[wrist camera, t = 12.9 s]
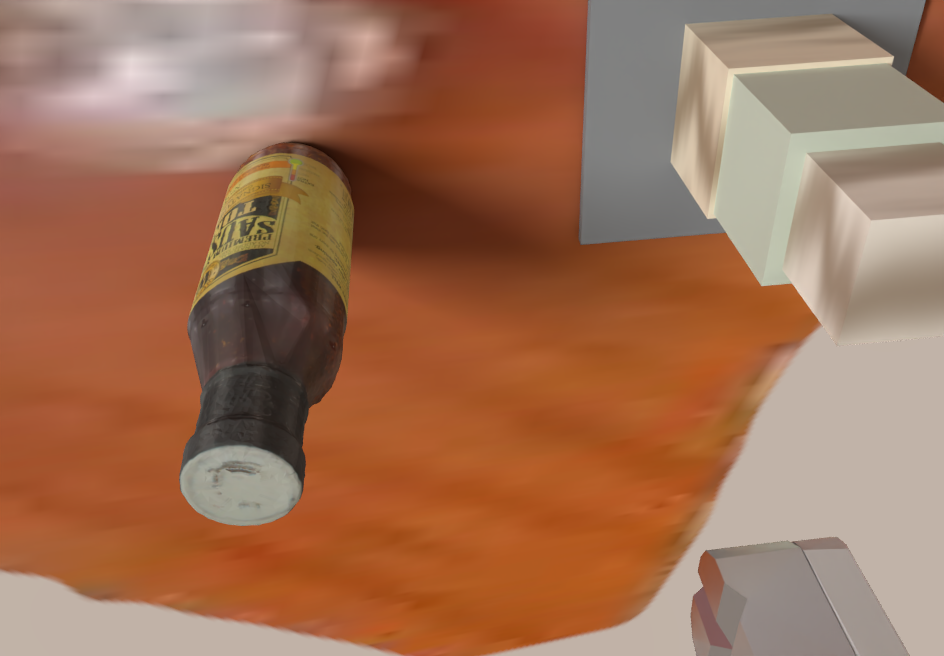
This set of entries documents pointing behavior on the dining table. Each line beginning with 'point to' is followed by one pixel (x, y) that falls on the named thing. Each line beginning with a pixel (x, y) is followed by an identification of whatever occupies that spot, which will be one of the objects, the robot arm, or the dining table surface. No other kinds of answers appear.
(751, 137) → the sage block
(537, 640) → the dining table surface
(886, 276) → the cream cube
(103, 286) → the dining table surface
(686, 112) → the birch block
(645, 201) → the slate mat
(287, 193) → the sauce bottle
